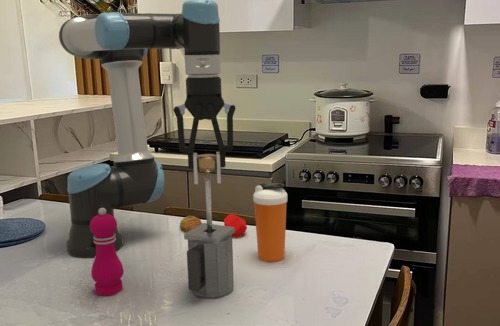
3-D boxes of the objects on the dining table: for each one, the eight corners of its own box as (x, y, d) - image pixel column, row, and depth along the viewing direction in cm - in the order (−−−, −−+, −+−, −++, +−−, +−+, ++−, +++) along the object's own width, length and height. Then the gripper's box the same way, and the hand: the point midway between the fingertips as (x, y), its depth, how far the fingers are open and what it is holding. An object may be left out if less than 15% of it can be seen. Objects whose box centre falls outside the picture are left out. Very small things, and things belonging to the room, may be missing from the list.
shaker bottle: (285, 264, 135) (284, 189, 131) (251, 262, 137) (249, 188, 133) (290, 251, 144) (289, 180, 140) (258, 249, 145) (256, 179, 141)
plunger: (188, 245, 118) (183, 157, 114) (204, 234, 125) (201, 152, 120) (216, 249, 115) (212, 160, 111) (231, 238, 121) (228, 153, 117)
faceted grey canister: (174, 299, 117) (171, 239, 114) (204, 276, 129) (202, 221, 126) (213, 307, 113) (211, 245, 110) (241, 283, 124) (239, 226, 122)
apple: (252, 219, 155) (237, 204, 160) (233, 228, 151) (218, 212, 157) (251, 236, 159) (236, 221, 164) (233, 245, 155) (218, 229, 161)
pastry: (207, 234, 160) (206, 222, 159) (185, 237, 157) (185, 225, 156) (198, 225, 168) (198, 213, 167) (178, 228, 166) (177, 216, 165)
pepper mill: (108, 299, 118) (101, 214, 114) (86, 292, 122) (78, 209, 118) (131, 287, 124) (125, 205, 120) (109, 280, 128) (103, 201, 124)
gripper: (160, 78, 108) (166, 188, 113) (245, 75, 109) (247, 184, 114) (163, 76, 115) (169, 179, 120) (243, 74, 116) (245, 176, 121)
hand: (207, 182), depth 117 cm, fingers closed on plunger, 4 cm apart
